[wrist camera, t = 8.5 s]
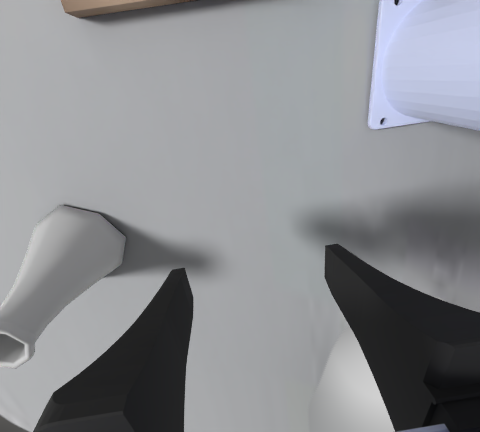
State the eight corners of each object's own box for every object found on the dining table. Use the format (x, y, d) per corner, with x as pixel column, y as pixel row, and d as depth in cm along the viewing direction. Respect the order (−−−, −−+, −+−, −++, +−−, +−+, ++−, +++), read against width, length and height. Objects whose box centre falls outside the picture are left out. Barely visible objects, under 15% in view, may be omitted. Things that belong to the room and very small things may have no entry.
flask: (54, 188, 20) (-72, 275, 11) (141, 233, 23) (94, 333, 14) (24, 253, 23) (-100, 366, 14) (106, 287, 25) (46, 402, 16)
